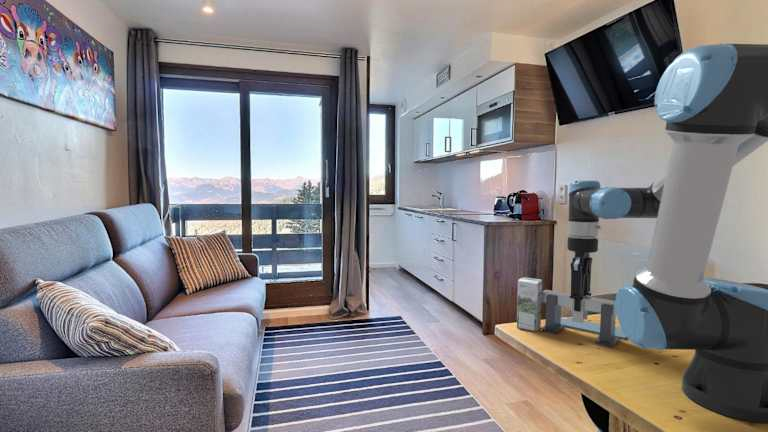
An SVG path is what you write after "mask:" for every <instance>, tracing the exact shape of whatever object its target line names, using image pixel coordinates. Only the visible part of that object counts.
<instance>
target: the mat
mask: <svg viewBox="0 0 768 432" xmlns="http://www.w3.org/2000/svg"><path fill="white" fill-rule="evenodd" d="M562 318H567V319H562ZM561 325H565V326H564V328H566V329H567V328H568V329H573V330H577V331H582V332H586V333H590V334H591V333H592V334H595V335H600V323H597V322H593V321H587V320H583V324H582V323H577V322H572V317H567V316H562V315H561ZM615 336H617V337H619V340H623V341H625V340H626V339H628V338H627V336H626V335H625V334H624V332H623V330H622V328H621V327H618V326H615Z"/></svg>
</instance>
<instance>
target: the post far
mask: <svg viewBox="0 0 768 432" xmlns="http://www.w3.org/2000/svg"><path fill="white" fill-rule="evenodd" d="M561 316H562V306H560V305H556V297H554V296H548V295H547V296H546V303H545V325H544V326H542V327H541V329H540V331H541V332H544V333H549V334H552V335H553V334H554V335H557V336H558V335H559V334H560V333H561V332H562V331H563V330H564V329H565V327H564V326H565V325H561Z"/></svg>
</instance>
